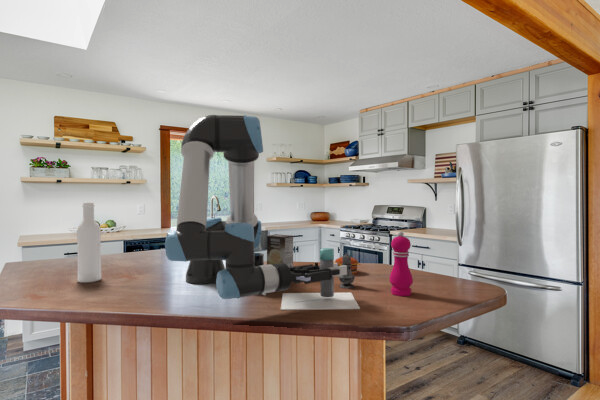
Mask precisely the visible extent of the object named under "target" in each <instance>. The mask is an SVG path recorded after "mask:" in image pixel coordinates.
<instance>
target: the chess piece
mask: <svg viewBox="0 0 600 400" xmlns="http://www.w3.org/2000/svg"><path fill="white" fill-rule="evenodd" d="M341 257H342V260H343V264H342V265H341V266H344V265H346V266H347V275H340V276H337V277H338V279H339V281H340V284H339V285H338V286H339V288H340V289H354V288H355V287H356V286H355V285H354V284H353V283H354V282H355V277H356V275H355V274H354V275H352V273H351V266H352V265H351V257H352V256H351V255H350V254H348V252H347V251H346V252H345V254H344V255H342V256H341Z"/></svg>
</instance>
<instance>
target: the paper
mask: <svg viewBox="0 0 600 400" xmlns="http://www.w3.org/2000/svg"><path fill="white" fill-rule="evenodd" d="M360 309H361V307H360V306H359V304H358V302H357V300H356V299H355V297H354V295H353V293H352V292H334V296H333V297H322V296H321V292H288V293H287V292H286V293H285V292H283V293H282V297H281V305H280V311H300V310H301V311H304V310H305V311H306V310H307V311H310V310H313V311H315V310H316V311H317V310H321V311H322V310H323V311H324V310H360Z"/></svg>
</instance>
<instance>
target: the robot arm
mask: <svg viewBox="0 0 600 400" xmlns="http://www.w3.org/2000/svg"><path fill="white" fill-rule="evenodd" d="M262 137H263V135H262V128H261V121H260V119H259V118H258V117H257V116H254V115H253V116H251V115H227V114H226V115H225V114H223V115H222V114H221V115H220V114H217V115H216V114H209V115H205V116H202V117H200V118H198V119H197V120H196V121H195V122H193V123H192V124H191V125H190V127H189V128H188V129H187V130H186V132H185V134H184V136H183V138H182V141H181V147H180V154H181V155H182V157H183V161H182V162H183V163H182V170H181V171H182V173H181V181H180V188H179V189H180V190H179V199H178V200H179V201H178V211H177V220H176V229H175V230H174V231H169V232H168V233H167V234H166V237H165V242H164V249H165V250H164V252H165V256H166V258H167V259H168V261H171V262H188V267H187V270H186V273H185V282H186V283H189V284H194V285H195V284H196V285H197V284H198V285H199V284H201V285H202V284H203V285H205V284H216V290H217V293H218V295H219V297H220V298H221V299H222V300H230V299H240V298H245V297H250V296H257V295H261V294H262V295H263V296H266V295H267V293H274V292H283V291H284V292H285V291H287V290H289V289H290V288H291V285H292V283H294V284H300V283H304V285H309V284H312V283H317V282H318V283H319V282H320V281H323V280H331V279H332V277H338V276H340V275H347V266H346V265H344V266H338V263H334V267H329V268H328V269H320V264H319V262H314V264H313V263H312V264H304V265H303V264H302V265H296V266H295V265H293V267H288V265H287V264H285V263H279V264H273V265H271V264H269V265H267V264H264V265H261V266H254V253H255V251H256V250H258V249H259V247H260V244H261V239H262V221H261V220H259V219H258V217H257V215H256V214H255V213H254V211H255V210H254V208H255V202H254V201H255V162H256V161H257V160H258V159H259V156H260V155H259V154H262V153H264V145H263V138H262ZM214 153H223V158H224V160H226V161H227V162H228V182H229V183H228V184H229V187H228V188H229V206H230V207H229V208H230V209H229V210H230V214H229V215H228V216H227V218H226V220H222V217H211V218H210V217H209V218H208V203H209V181H210V164H211V163H210V161H211V160H212V158H213V157H214ZM224 260H225V265H224Z"/></svg>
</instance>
